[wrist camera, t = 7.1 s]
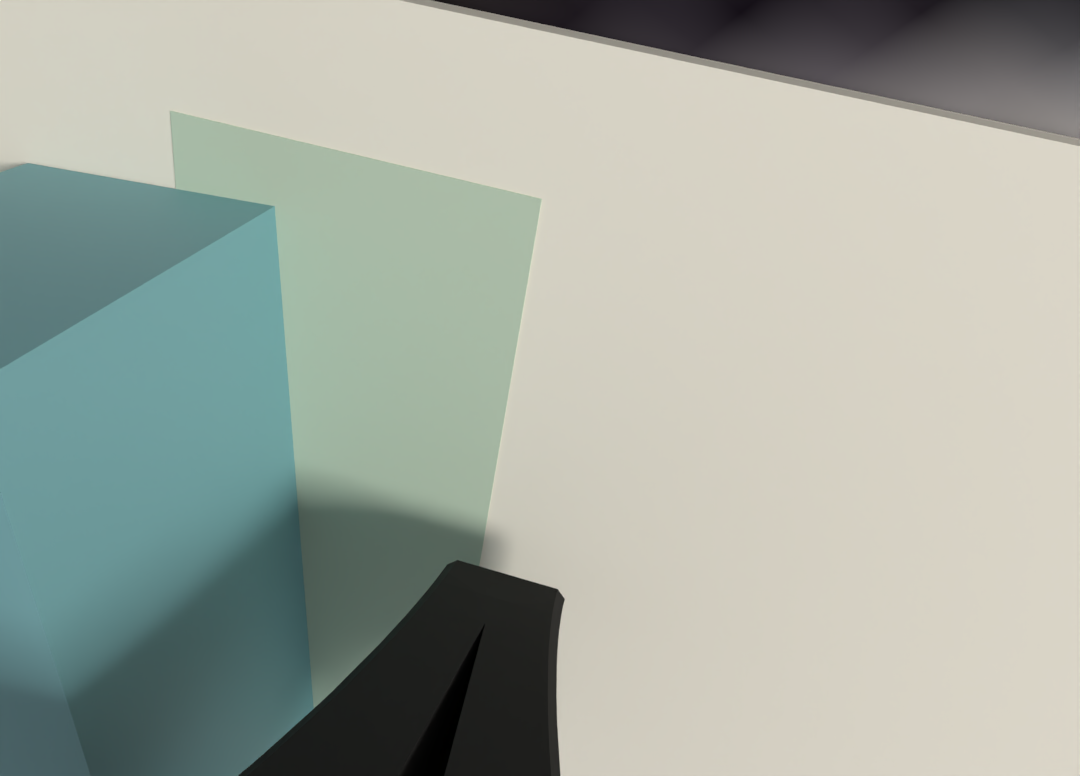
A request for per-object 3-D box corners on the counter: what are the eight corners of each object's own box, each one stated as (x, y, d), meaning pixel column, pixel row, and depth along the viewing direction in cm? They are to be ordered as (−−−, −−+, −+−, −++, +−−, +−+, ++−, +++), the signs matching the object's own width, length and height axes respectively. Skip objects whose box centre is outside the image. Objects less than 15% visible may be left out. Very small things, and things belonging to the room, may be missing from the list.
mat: (1861, 305, 6) (1927, 329, 6) (1051, 1014, 13) (1058, 1043, 13) (-413, -180, 9) (-462, -184, 8) (-104, 637, 15) (-125, 654, 15)
